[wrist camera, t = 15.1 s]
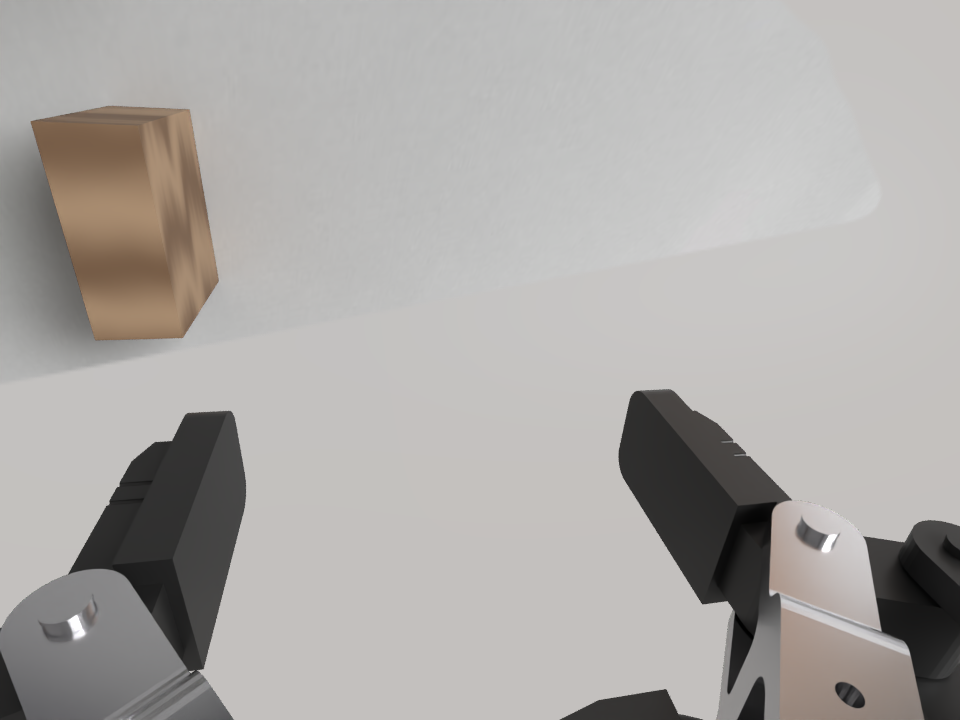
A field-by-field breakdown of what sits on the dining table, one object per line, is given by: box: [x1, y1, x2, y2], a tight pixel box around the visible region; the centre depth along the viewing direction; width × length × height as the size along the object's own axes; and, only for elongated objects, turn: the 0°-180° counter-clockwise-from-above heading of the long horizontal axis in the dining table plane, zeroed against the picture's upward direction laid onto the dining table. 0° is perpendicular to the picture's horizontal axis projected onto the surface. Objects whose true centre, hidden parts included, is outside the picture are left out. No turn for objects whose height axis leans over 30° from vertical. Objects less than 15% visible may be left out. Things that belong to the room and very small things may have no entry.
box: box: [31, 106, 219, 340], centre depth 35 cm, size 12×5×10 cm, turn 177°
